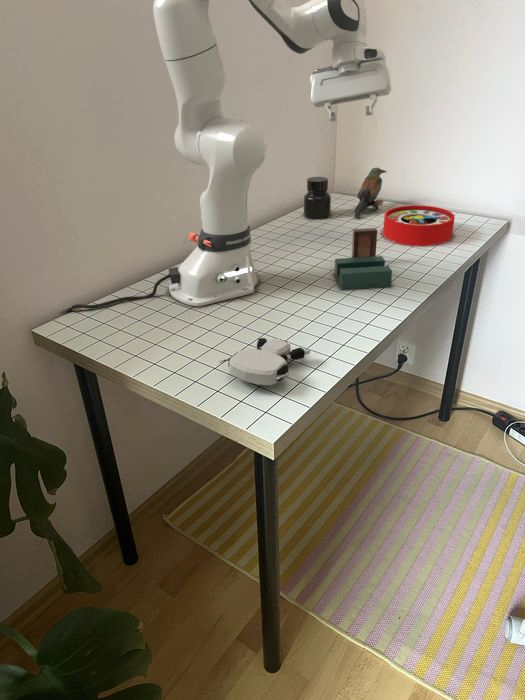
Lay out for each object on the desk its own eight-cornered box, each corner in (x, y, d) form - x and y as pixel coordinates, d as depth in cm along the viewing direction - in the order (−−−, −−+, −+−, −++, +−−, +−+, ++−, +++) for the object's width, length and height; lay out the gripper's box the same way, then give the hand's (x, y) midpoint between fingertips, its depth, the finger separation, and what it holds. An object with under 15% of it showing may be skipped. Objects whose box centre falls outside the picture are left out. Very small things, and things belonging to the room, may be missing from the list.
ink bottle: (333, 212, 188) (334, 176, 182) (329, 219, 180) (330, 182, 174) (305, 211, 190) (305, 175, 184) (300, 219, 182) (300, 182, 176)
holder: (334, 274, 142) (335, 258, 140) (380, 271, 142) (381, 255, 140) (341, 289, 133) (342, 273, 131) (390, 286, 134) (392, 270, 132)
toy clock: (379, 206, 171) (444, 204, 170) (378, 224, 174) (442, 222, 173) (390, 226, 154) (463, 224, 153) (389, 246, 157) (460, 244, 156)
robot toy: (259, 349, 112) (217, 381, 101) (259, 329, 110) (216, 359, 99) (313, 363, 107) (275, 399, 95) (314, 342, 105) (276, 376, 93)
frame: (351, 261, 149) (352, 229, 144) (373, 260, 149) (375, 227, 144) (352, 264, 147) (354, 231, 142) (375, 263, 147) (377, 230, 143)
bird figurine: (371, 219, 176) (386, 157, 176) (343, 216, 181) (357, 155, 180) (383, 229, 188) (397, 172, 187) (356, 226, 193) (369, 170, 192)
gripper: (306, 65, 140) (307, 120, 141) (387, 48, 133) (388, 106, 133) (313, 75, 146) (314, 128, 147) (391, 59, 139) (392, 115, 139)
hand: (350, 117), depth 140 cm, fingers open, 8 cm apart
